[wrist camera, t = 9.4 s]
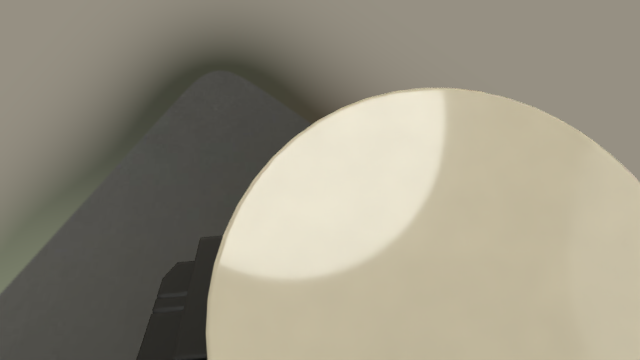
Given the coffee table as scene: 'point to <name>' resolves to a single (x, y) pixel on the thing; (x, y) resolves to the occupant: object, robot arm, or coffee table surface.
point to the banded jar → (432, 240)
